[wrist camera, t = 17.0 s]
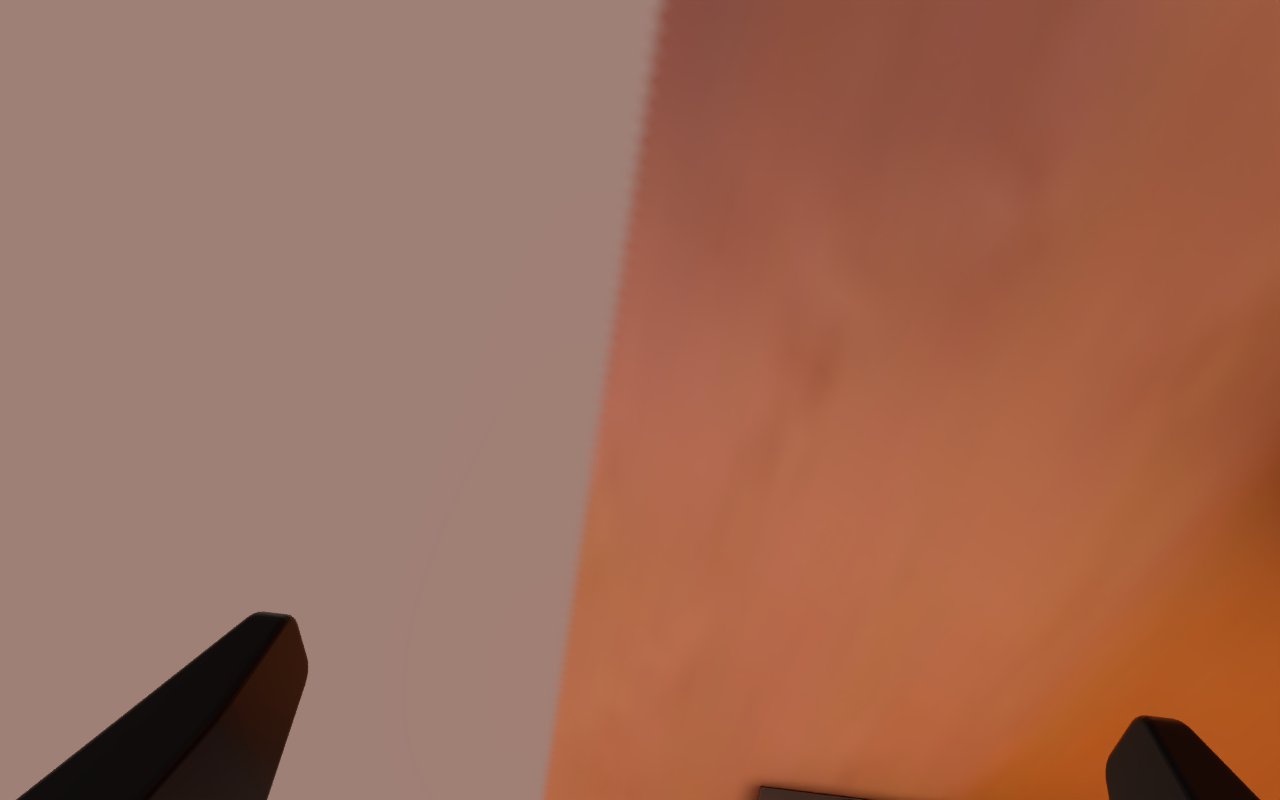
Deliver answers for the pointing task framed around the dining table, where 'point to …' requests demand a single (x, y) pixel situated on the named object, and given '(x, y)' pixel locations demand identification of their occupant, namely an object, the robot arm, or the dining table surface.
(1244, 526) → the dining table surface
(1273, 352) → the dining table surface
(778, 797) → the tray
